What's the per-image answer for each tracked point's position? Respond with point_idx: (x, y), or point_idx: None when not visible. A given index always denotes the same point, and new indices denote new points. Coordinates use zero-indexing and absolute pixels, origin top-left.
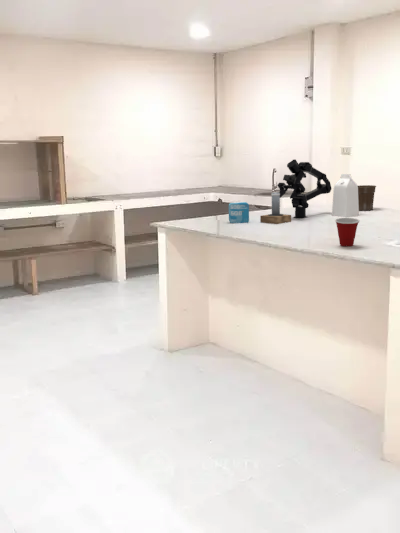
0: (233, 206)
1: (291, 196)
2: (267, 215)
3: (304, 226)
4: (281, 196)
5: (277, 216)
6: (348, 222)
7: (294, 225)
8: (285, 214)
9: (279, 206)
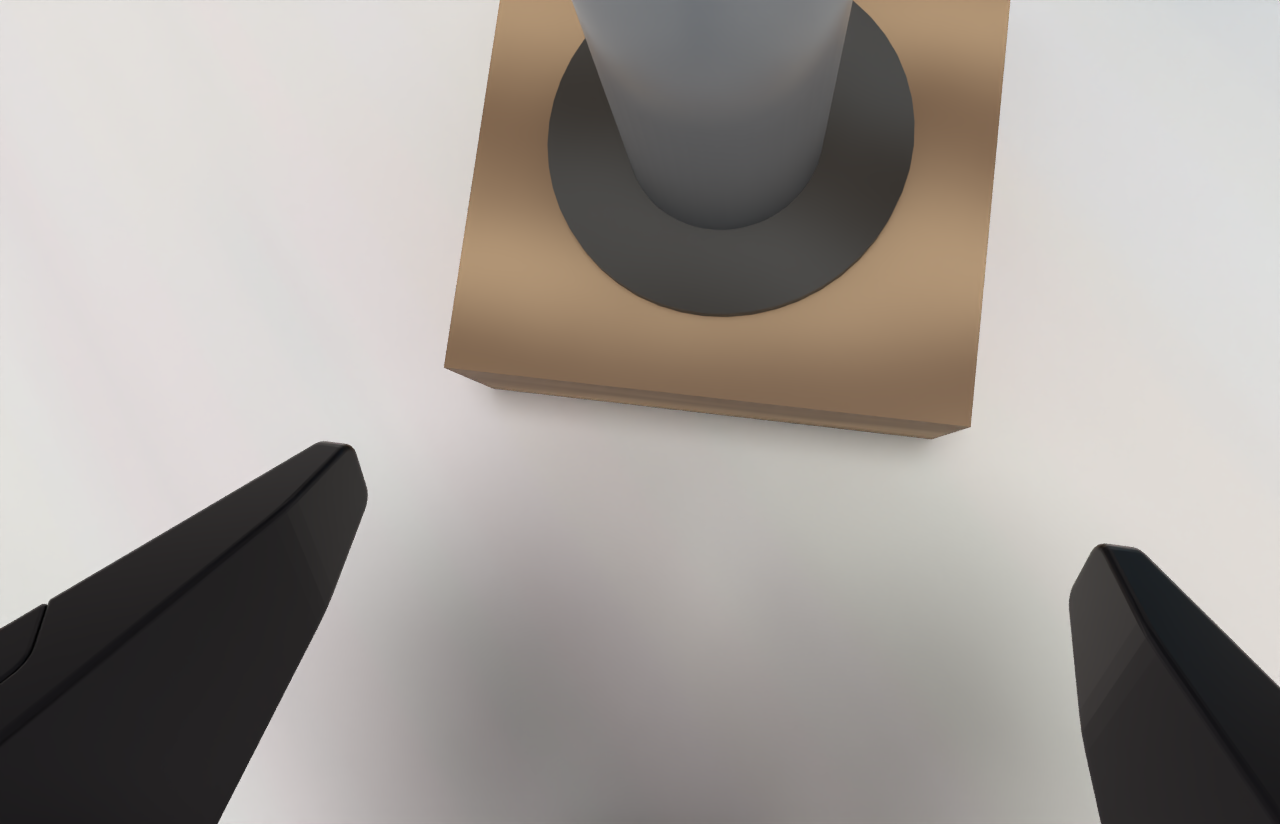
0: None
1: (254, 497)
2: (890, 28)
3: (13, 41)
4: (1089, 753)
5: (570, 14)
6: None
7: (197, 41)
8: (610, 378)
9: (592, 57)
